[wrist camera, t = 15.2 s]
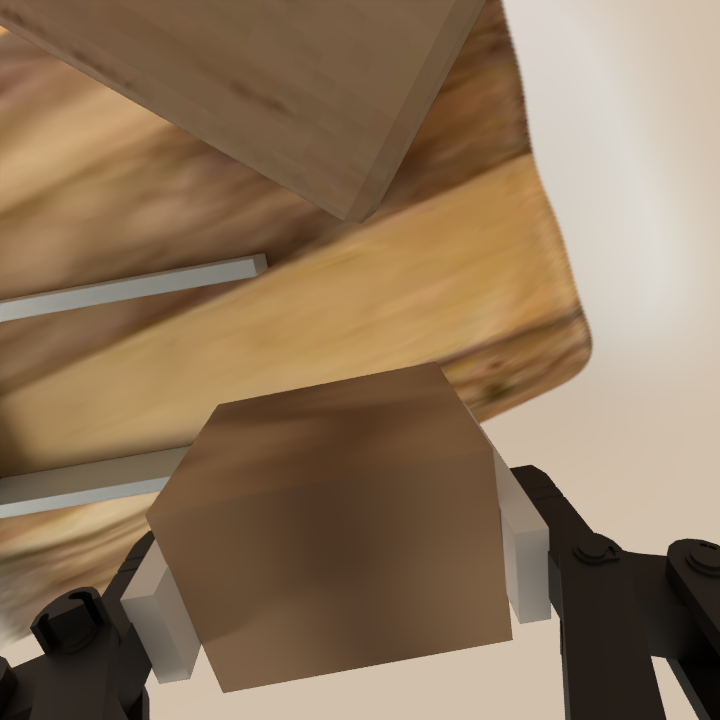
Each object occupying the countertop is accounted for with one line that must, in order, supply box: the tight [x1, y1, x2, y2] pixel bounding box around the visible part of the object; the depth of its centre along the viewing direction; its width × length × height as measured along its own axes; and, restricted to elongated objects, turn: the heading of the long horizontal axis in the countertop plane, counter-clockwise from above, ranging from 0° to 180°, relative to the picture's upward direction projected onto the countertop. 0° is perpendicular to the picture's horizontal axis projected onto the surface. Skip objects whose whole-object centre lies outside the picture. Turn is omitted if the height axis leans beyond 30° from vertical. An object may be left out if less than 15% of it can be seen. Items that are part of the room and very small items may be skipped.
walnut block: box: [145, 362, 513, 693], centre depth 13 cm, size 8×6×6 cm
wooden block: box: [0, 0, 487, 223], centre depth 16 cm, size 10×10×20 cm
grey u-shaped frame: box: [0, 253, 268, 518], centre depth 28 cm, size 26×14×4 cm, turn 100°
